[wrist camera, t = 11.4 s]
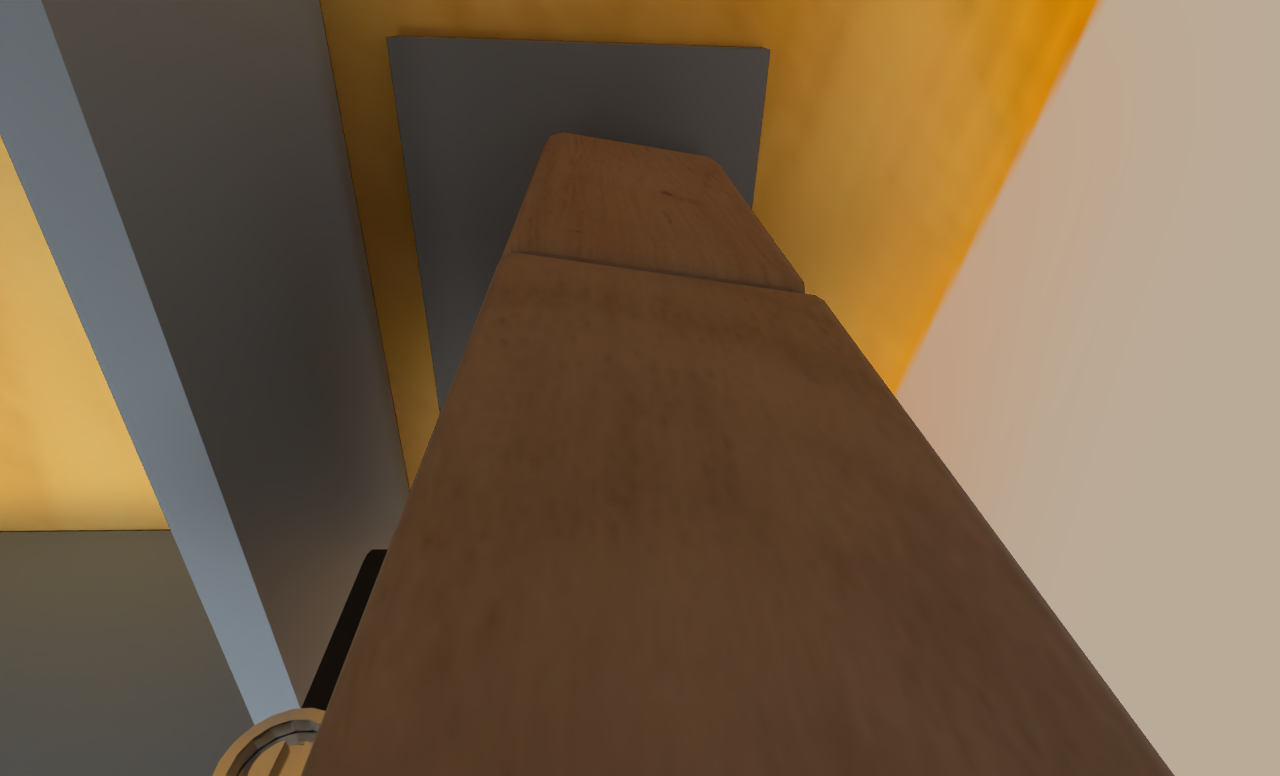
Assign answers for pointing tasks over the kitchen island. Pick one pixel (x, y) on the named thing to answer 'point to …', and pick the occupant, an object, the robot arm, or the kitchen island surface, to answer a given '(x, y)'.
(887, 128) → the kitchen island surface
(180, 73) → the box
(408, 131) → the place mat
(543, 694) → the brown piece
